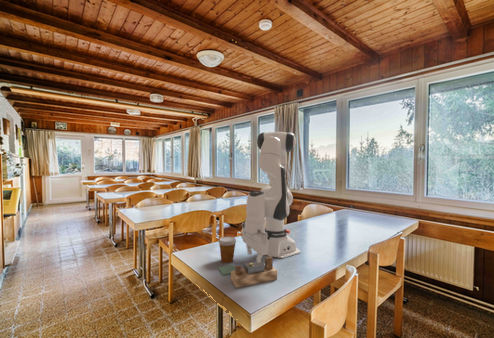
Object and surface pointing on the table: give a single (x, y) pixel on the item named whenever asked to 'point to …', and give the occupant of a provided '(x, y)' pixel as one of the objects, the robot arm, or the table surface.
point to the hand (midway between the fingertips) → (253, 257)
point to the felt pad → (226, 269)
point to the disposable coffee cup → (227, 249)
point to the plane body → (253, 275)
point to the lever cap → (253, 267)
